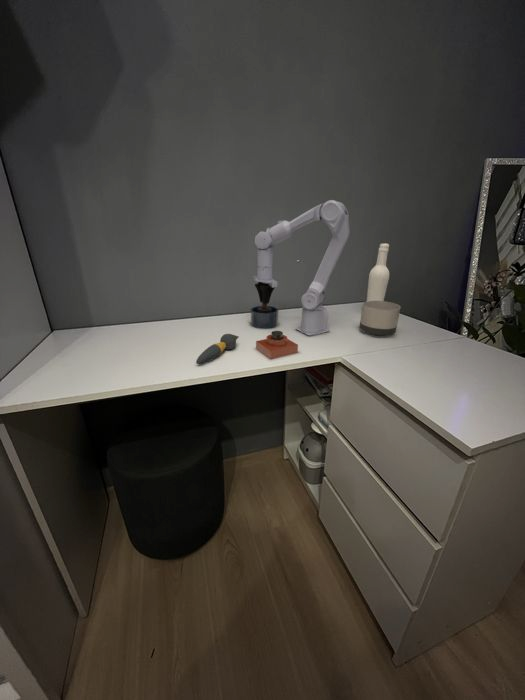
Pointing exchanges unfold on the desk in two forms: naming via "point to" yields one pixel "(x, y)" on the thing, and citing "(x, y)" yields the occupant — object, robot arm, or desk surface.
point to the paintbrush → (217, 348)
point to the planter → (379, 318)
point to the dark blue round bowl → (264, 318)
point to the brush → (264, 308)
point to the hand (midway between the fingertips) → (264, 302)
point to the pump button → (276, 335)
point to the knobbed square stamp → (276, 347)
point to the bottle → (379, 276)
